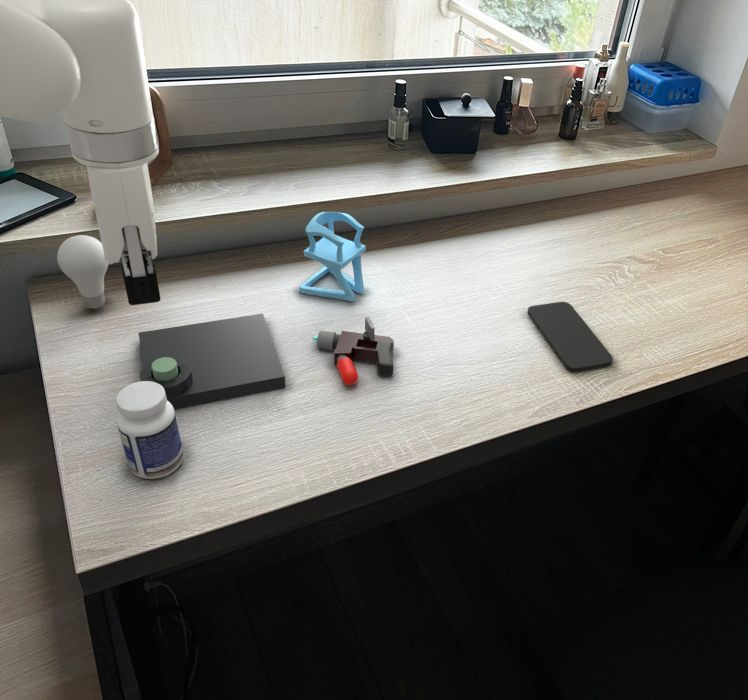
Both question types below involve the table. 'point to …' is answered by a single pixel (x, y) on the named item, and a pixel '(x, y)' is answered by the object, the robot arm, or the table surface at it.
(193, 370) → the dark grey button base
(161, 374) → the button
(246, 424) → the table surface
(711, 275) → the table surface
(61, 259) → the lightbulb
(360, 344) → the toy gun
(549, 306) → the phone
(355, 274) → the chair
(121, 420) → the pill bottle
